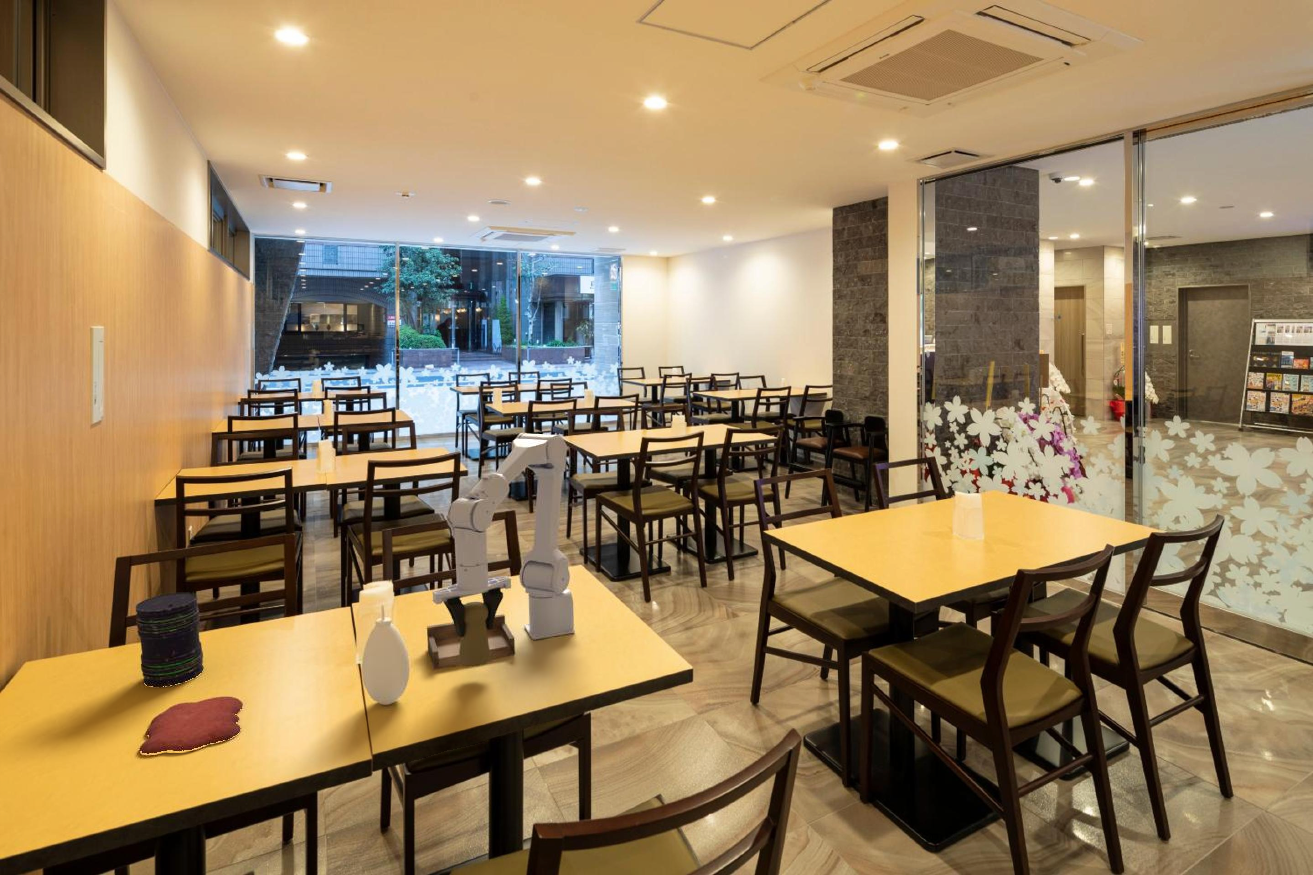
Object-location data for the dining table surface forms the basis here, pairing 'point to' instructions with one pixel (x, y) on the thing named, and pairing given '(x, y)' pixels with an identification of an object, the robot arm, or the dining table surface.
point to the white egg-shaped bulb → (385, 662)
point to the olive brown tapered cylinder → (474, 636)
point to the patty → (193, 725)
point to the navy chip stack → (169, 639)
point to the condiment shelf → (448, 642)
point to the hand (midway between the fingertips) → (474, 631)
